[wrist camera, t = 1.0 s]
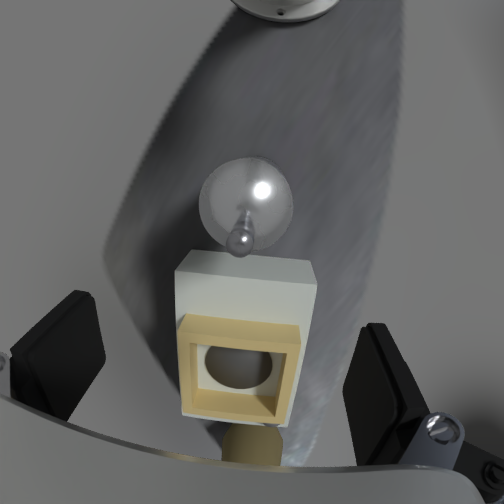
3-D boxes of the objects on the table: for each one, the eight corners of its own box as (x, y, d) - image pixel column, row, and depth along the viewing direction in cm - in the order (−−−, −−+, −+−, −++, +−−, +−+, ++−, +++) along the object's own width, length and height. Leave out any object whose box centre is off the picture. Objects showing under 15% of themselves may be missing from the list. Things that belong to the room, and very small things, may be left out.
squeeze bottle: (235, 442, 41) (220, 544, 24) (218, 409, 39) (194, 522, 22) (287, 436, 40) (288, 543, 23) (276, 401, 38) (274, 522, 21)
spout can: (229, 153, 29) (190, 156, 15) (287, 158, 28) (302, 165, 15) (225, 210, 30) (187, 260, 17) (282, 215, 30) (290, 270, 17)
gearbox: (191, 249, 32) (163, 284, 23) (309, 260, 31) (322, 301, 23) (192, 382, 37) (176, 433, 29) (286, 392, 37) (287, 446, 28)
